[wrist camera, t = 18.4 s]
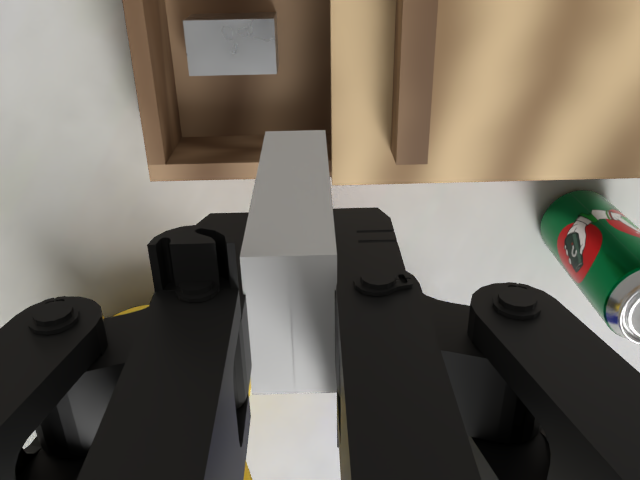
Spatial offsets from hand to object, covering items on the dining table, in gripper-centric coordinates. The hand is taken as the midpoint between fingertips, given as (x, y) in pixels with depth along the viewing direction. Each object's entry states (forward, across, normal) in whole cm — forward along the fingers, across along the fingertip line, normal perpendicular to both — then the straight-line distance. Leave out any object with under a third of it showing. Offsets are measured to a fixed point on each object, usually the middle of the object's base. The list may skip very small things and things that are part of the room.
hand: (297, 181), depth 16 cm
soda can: (+25, +19, -13) cm, 34 cm away
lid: (+18, +12, 0) cm, 22 cm away
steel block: (+24, -4, 0) cm, 24 cm away
